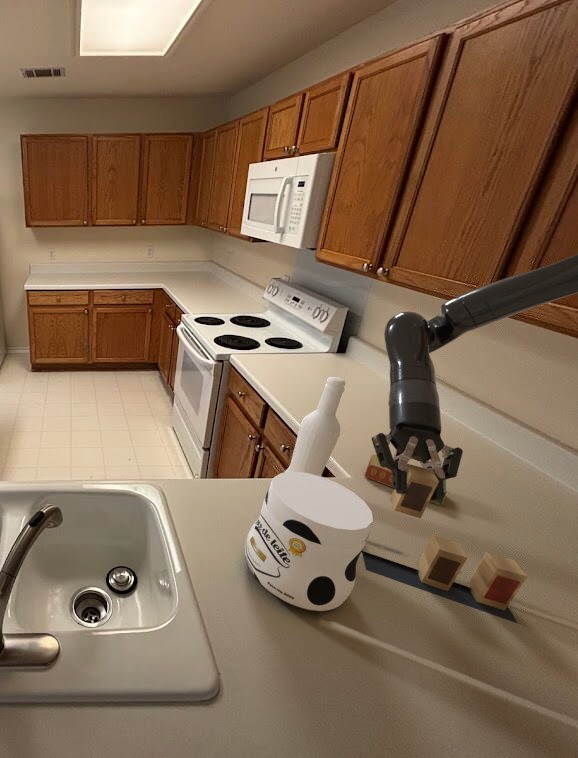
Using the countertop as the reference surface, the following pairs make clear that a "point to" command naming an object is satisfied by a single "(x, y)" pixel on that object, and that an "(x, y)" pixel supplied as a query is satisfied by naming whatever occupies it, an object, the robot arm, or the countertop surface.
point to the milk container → (308, 540)
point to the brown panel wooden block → (441, 563)
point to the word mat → (412, 578)
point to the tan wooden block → (415, 491)
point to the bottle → (318, 432)
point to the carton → (389, 476)
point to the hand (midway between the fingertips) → (418, 496)
